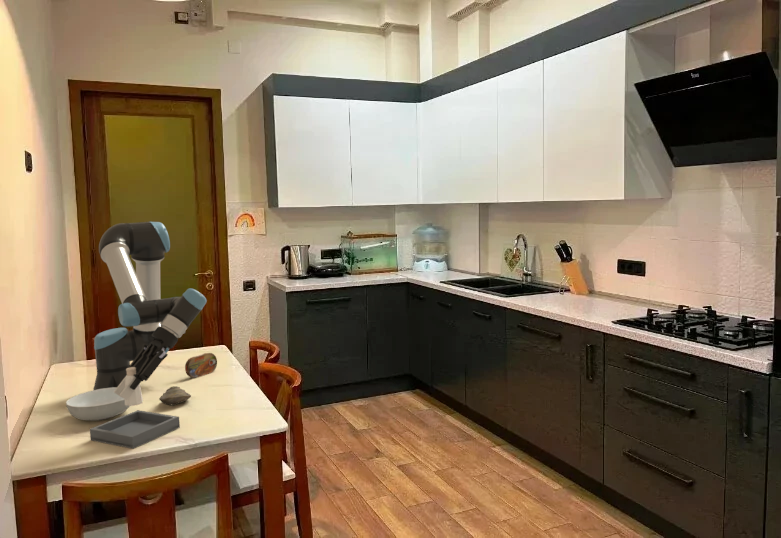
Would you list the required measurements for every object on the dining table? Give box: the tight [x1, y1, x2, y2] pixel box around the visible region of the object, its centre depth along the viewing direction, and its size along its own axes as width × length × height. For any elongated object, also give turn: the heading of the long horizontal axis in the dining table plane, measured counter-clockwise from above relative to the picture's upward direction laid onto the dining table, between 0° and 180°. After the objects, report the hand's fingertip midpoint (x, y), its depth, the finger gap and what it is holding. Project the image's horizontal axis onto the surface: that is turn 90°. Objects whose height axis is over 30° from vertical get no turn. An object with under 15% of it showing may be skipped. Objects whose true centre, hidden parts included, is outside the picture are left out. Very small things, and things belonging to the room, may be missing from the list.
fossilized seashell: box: [158, 386, 192, 406], centre depth 220 cm, size 11×11×7 cm
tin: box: [184, 352, 218, 379], centre depth 257 cm, size 15×3×8 cm, turn 148°
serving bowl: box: [65, 387, 131, 422], centre depth 210 cm, size 21×21×7 cm
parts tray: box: [89, 409, 181, 450], centre depth 192 cm, size 18×18×4 cm
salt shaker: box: [125, 367, 144, 407], centre depth 190 cm, size 5×5×11 cm
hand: (120, 396), depth 188 cm, fingers closed on salt shaker, 4 cm apart
